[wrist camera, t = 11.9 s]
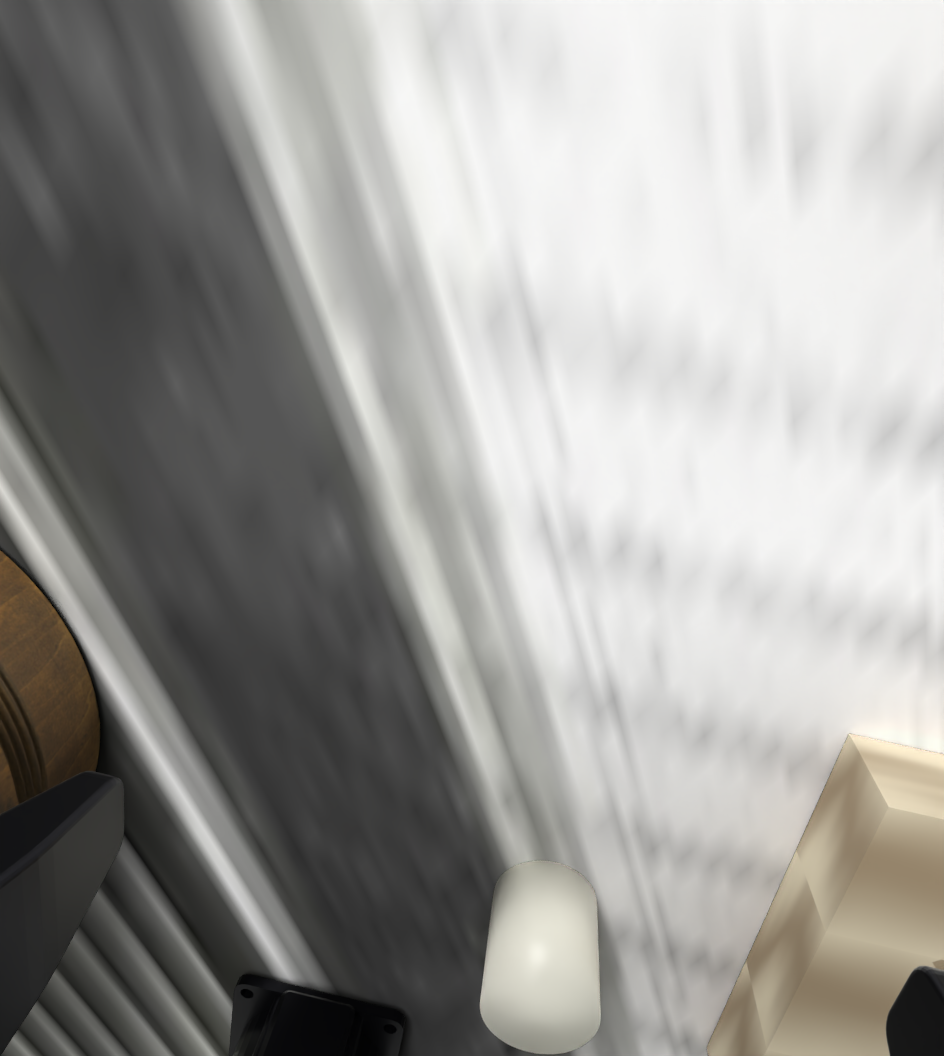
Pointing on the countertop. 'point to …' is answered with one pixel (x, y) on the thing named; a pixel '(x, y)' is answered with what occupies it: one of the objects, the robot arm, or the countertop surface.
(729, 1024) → the hole board
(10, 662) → the wooden container
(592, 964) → the short cream pin
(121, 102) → the countertop surface
